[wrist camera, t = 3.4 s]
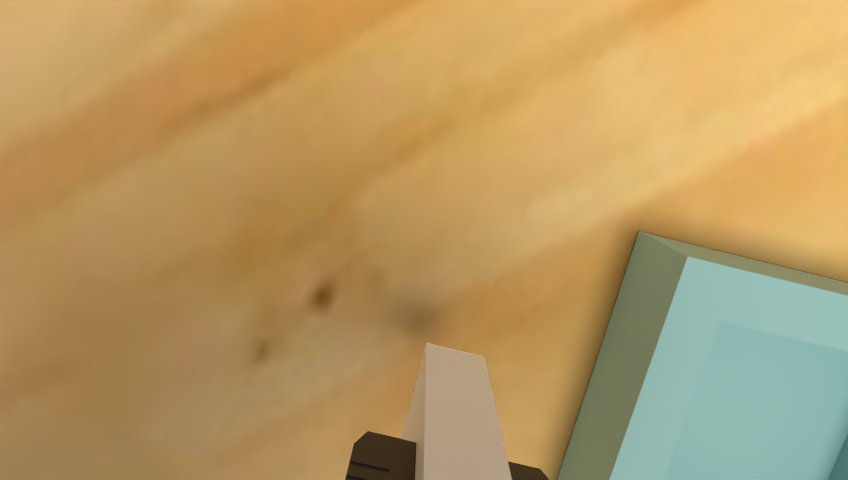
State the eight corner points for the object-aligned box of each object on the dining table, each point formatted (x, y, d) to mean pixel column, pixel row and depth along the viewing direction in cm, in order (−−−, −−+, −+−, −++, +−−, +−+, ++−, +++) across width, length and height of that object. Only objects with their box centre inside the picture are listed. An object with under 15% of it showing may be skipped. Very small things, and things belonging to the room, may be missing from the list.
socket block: (551, 496, 21) (577, 571, 17) (638, 231, 19) (687, 256, 15) (811, 553, 21) (886, 636, 18) (923, 301, 19) (1031, 340, 16)
